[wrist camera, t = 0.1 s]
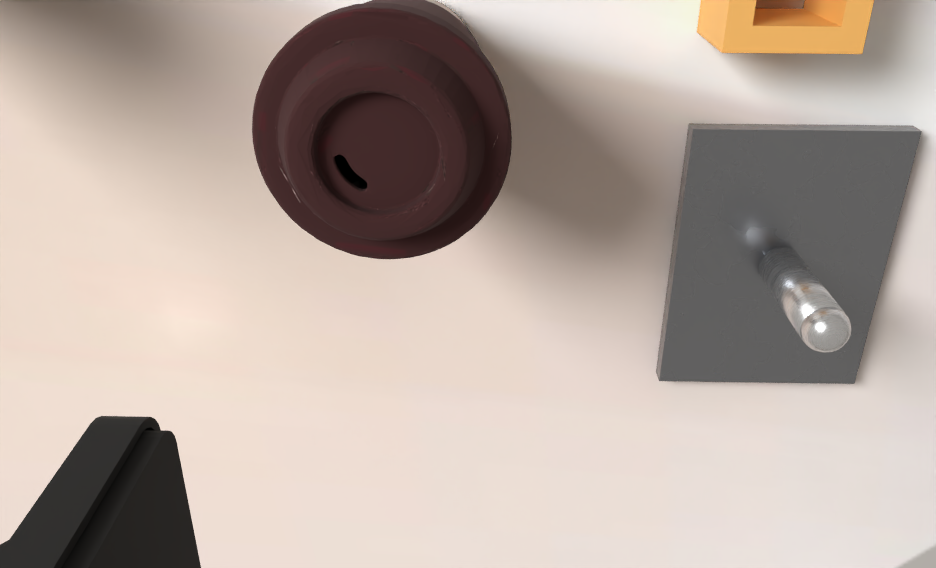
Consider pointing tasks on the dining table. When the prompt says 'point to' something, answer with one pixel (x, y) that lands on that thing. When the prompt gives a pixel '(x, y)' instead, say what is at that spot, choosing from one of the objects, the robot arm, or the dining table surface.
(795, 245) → the keeper
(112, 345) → the dining table surface
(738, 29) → the orange hollow square block
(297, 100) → the coffee cup
